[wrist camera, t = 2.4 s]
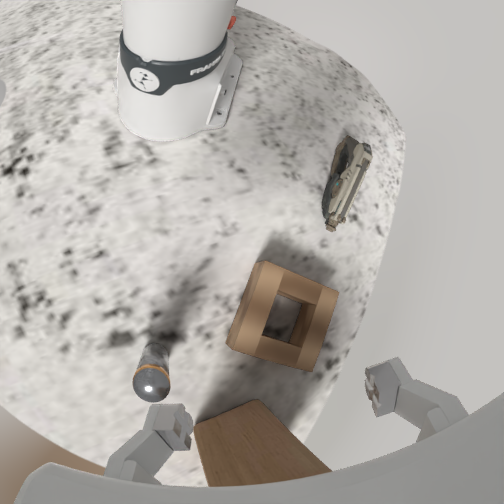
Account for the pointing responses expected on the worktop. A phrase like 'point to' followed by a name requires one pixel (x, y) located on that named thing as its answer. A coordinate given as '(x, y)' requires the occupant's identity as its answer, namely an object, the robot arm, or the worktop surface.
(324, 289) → the bore block
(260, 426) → the wooden block
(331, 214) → the futuristic pistol
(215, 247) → the worktop surface
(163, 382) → the grey metal cylinder
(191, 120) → the robot arm
